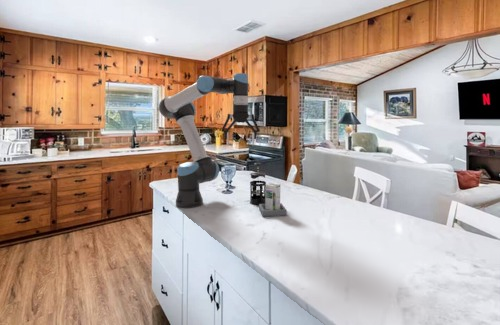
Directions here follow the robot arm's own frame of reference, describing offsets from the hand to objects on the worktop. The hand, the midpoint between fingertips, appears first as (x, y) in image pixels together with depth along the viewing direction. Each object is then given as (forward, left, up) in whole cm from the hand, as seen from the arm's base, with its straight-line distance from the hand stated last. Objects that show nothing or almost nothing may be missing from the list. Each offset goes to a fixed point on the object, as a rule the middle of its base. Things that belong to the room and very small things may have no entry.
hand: (240, 145), depth 152 cm
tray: (+15, -12, -34) cm, 39 cm away
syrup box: (+15, -12, -34) cm, 39 cm away
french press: (+10, +7, -34) cm, 36 cm away
